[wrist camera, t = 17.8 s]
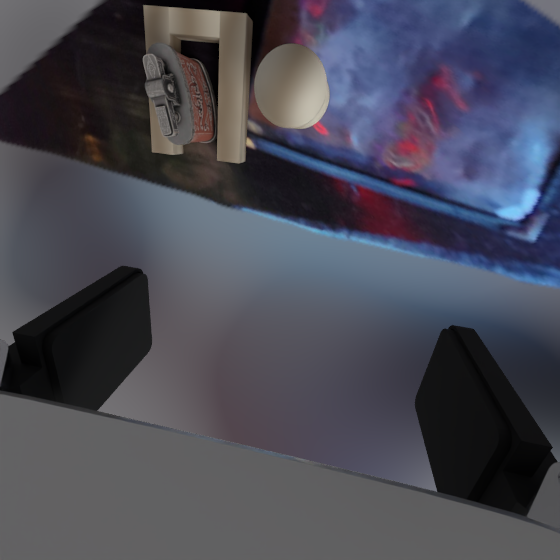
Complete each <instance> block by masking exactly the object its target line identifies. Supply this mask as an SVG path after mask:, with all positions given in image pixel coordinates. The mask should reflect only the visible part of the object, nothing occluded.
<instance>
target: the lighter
mask: <svg viewBox="0 0 560 560" xmlns="http://www.w3.org/2000/svg"><path fill="white" fill-rule="evenodd" d="M143 64H144V68H145V72H146V76H147V79H146V82H145V89H146V93H147V95H148V97H149V98H150V99H151V101H152V102H153V103H154V106H155V110H156V114H157V118H158V122H159V125H160V129H161V133H162V135H163V136H164V137H167V138H168V140H169V141H170V142H171V143H173V144H176V145H185V144H188V143H190V142H202V143H210V142H213V141H214V140H216V138H217V135H218V113H217V105H216V99H215V95H214V91H213V87H212V84H211V81H210V78H209V75H208V73H207V70H206V67H205V66H204V64H203V63H202V62H200V61H199V60H196V59H194V58H188V57H186V56H184V55H182V54H180V53H178V52H176V51H175V50H174V49H173V48H172V47H171V46H169V45H167V44H165V43H162V42H160V43H155V44H153V45H151V46H150V47H149V49H148V51H147V55H144V57H143Z"/></svg>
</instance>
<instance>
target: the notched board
mask: <svg viewBox="0 0 560 560" xmlns="http://www.w3.org/2000/svg"><path fill="white" fill-rule="evenodd" d="M143 6H144V23H145V40H146V55H147V51H148V49H149V47H150V46H151V45H153V44H155V43H160V42H162V43H165V44H167V45H169V46H171V47H172V48H173V49H174V50H175V51H176V52H178V53H180V54H181V40H188V41H200V42H211V43H219V85H218V135H217V160H218V161H225V162H233V163H242V162H245V156H246V138H247V120H248V101H249V83H250V65H251V47H252V29H253V21H252V20H251V19H250V17H249V16H248V15H247V13H236V12H224V11H211V10H199V9H186V8H174V7H161V6H149V5H143ZM149 107H150V124H151V140H152V152H156V153H164V154H171V155H176V154H183V145H176V144H173V143H171V142H170V141H169V140H168V138H167V137H164V136H163V135H162V133H161V129H160V125H159V122H158V118H157V114H156V110H155V106H154V103H153V102H152V101H151V99H150V98H149Z"/></svg>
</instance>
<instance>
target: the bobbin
mask: <svg viewBox="0 0 560 560" xmlns="http://www.w3.org/2000/svg"><path fill="white" fill-rule="evenodd" d="M254 91H255V97H256V101H257V104H258V106H259V109H260V110H261V112H262V114H263V115H264V116H265V117H266V118H267V119H268V120H269V121H270V122H272V123H273V124H275V125H277V126H280V127H284V128H295V129H304V128H308V127H310V126H312V125H314V124H315V123H317V122H318V121H319V120H320V119H321V118H322V116H323V115H324V113H325V111H326V109H327V107H328V103H329V86H328V82H327V78H326V73H325V69H324V67H323V64H322V63H321V61H320V59H319V58H318V57H317V55H316V54H315V53H314V52H313V51H311V50H310V49H309V48H307V47H305V46H302V45H299V44H284V45H281V46H278V47H276V48H275V49H273V50H272V51H270V52H269V53H268V54H267V55H266V56H265V58H264V59H263V60H262V62H261V63H260V65H259V67H258V70H257V73H256V77H255V83H254Z"/></svg>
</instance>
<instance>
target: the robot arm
mask: <svg viewBox="0 0 560 560" xmlns="http://www.w3.org/2000/svg"><path fill="white" fill-rule="evenodd" d="M13 336H14V339H15V343H13V344H12V345H10V346H8V344H7V343H6V342H5V341H4V340H1V339H0V560H560V462H557V460H556V459H555V458H554V456H553V454H552V453H551V451H550V450H551V449H552V448H553V447H552V446H551V444H550V443H549V441H548V440H547V438H546V437H545V435H544V434H543V432H542V431H541V429H540V428H539V426H538V425H537V423H536V422H535V420H534V419H533V417H532V416H531V414H530V413H529V411H528V410H527V408H526V407H525V405H524V404H523V402H522V401H521V399H520V397H519V396H518V394H517V393H516V392H515V390H514V388H513V387H512V386H511V384H510V383H509V381H508V379H507V378H506V376H505V375H504V373H503V372H502V370H501V369H500V368H499V366H498V364H497V363H496V361H495V360H494V358H493V357H492V355H491V354H490V352H489V351H488V349H487V348H486V346H485V345H484V343H483V342H482V340H481V339H480V337H479V336H478V334H477V333H476V332H475V330H474V329H471V328H465V327H460V326H454V325H452V326H450V327H449V328H448V329H443V330H442V331H441V333H440V336H439V338H438V341H437V344H436V346H435V349H434V351H433V354H432V356H431V359H430V362H429V364H428V367H427V369H426V372H425V375H424V377H423V380H422V382H421V385H420V388H419V390H418V393H417V395H416V399H415V408H416V412H417V416H418V420H419V424H420V427H421V431H422V435H423V439H424V443H425V447H426V450H427V454H428V458H429V462H430V465H431V469H432V473H433V477H434V481H435V485H436V488H437V492H435V491H431V490H427V489H423V488H419V487H415V486H412V485H408V484H403V483H400V482H396V481H391V480H387V479H383V478H379V477H375V476H371V475H367V474H363V473H358V472H354V471H350V470H346V469H342V468H338V467H333V466H329V465H325V464H321V463H317V462H313V461H308V460H305V459H300V458H296V457H292V456H288V455H284V454H279V453H275V452H271V451H267V450H263V449H258V448H254V447H250V446H246V445H241V444H237V443H233V442H229V441H224V440H220V439H216V438H212V437H207V436H203V435H198V434H194V433H190V432H186V431H181V430H177V429H173V428H169V427H165V426H160V425H156V424H151V423H147V422H142V421H138V420H134V419H130V418H125V417H121V416H116V415H112V414H108V413H103V412H99V411H97V410H98V409H99V408H100V407H101V406H102V405H103V404H104V402H105V401H106V400H107V399H108V398H109V397H110V395H111V394H112V393H113V392H114V391H115V390H116V389H117V388H118V386H119V385H120V384H121V383H122V382H123V381H124V379H125V378H126V377H127V376H128V375H129V374H130V373H131V372H132V370H133V369H134V368H135V367H136V366H137V365H138V364H139V362H140V361H141V360H142V359H143V358H144V357H145V356H146V355H147V353H148V352H149V350H150V348H151V345H152V334H151V320H150V307H149V293H148V279H147V276H146V275H145V274H143V272H142V270H141V269H138V268H133V267H128V266H121V267H119V268H117V269H115V270H114V271H112V272H111V273H109V274H107V275H106V276H104V277H102V278H101V279H99V280H97V281H96V282H94V283H93V284H91V285H89V286H88V287H86V288H84V289H83V290H81V291H79V292H78V293H76V294H75V295H73V296H71V297H69V298H68V299H66V300H65V301H63V302H61V303H60V304H58V305H56V306H55V307H53V308H51V309H50V310H48V311H47V312H45V313H43V314H42V315H40V316H38V317H37V318H35V319H33V320H32V321H30V322H28V323H27V324H25V325H23V326H22V327H20V328H19V329H17V330H15V331H14V332H13Z"/></svg>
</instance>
